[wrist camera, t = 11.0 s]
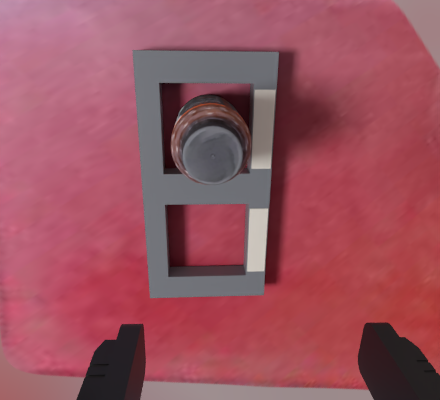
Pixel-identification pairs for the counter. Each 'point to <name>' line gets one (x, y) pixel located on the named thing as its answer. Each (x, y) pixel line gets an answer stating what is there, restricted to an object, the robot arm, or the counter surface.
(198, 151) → the supplement bottle
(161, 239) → the socket panel
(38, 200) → the counter surface
